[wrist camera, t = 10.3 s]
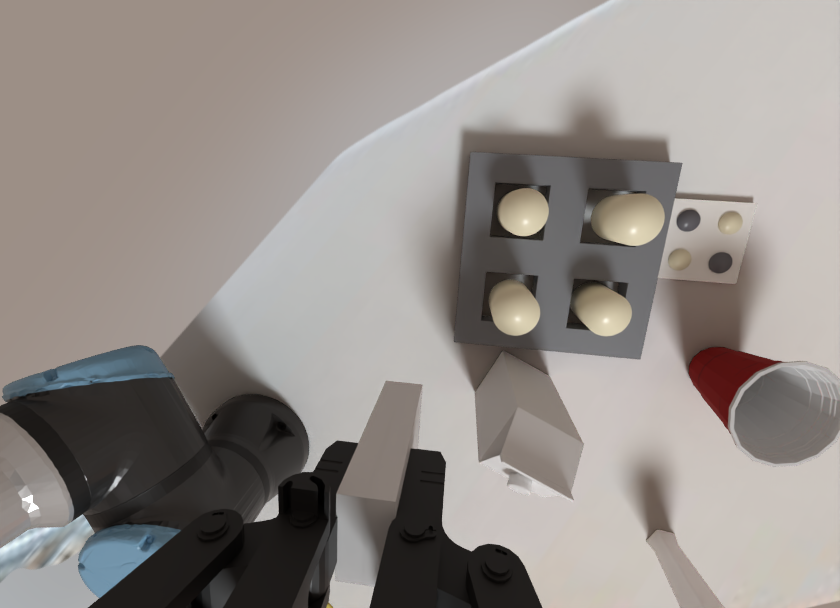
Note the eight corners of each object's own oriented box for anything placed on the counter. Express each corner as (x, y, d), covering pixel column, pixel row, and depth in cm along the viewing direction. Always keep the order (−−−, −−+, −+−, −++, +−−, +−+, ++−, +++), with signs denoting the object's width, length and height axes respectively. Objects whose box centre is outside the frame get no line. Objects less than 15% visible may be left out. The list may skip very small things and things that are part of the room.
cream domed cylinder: (587, 238, 44) (606, 243, 38) (594, 193, 43) (615, 191, 37) (632, 241, 43) (658, 247, 38) (641, 196, 42) (669, 195, 36)
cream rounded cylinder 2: (486, 317, 47) (489, 333, 41) (490, 277, 46) (494, 288, 40) (527, 321, 47) (536, 337, 41) (533, 281, 46) (543, 292, 40)
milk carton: (502, 349, 51) (524, 430, 33) (550, 376, 51) (598, 471, 33) (474, 392, 53) (479, 491, 35) (520, 418, 53) (550, 530, 35)
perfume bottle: (673, 522, 54) (749, 638, 40) (682, 548, 55) (760, 670, 41) (639, 531, 55) (701, 647, 41) (649, 556, 56) (713, 678, 42)
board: (454, 335, 51) (453, 341, 49) (470, 154, 46) (470, 151, 43) (631, 351, 49) (640, 359, 47) (670, 165, 44) (682, 162, 41)
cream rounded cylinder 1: (494, 230, 47) (498, 234, 42) (498, 188, 46) (503, 186, 40) (535, 233, 47) (545, 237, 41) (540, 191, 46) (551, 189, 40)
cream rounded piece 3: (567, 318, 49) (581, 334, 43) (573, 280, 48) (588, 291, 42) (607, 322, 49) (627, 338, 43) (614, 283, 47) (635, 294, 42)
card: (651, 276, 47) (654, 278, 46) (668, 198, 45) (671, 198, 44) (732, 283, 46) (737, 284, 45) (753, 203, 44) (758, 203, 43)
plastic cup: (781, 375, 48) (881, 430, 37) (697, 422, 51) (767, 487, 39) (733, 307, 47) (821, 340, 35) (650, 359, 49) (707, 406, 38)
